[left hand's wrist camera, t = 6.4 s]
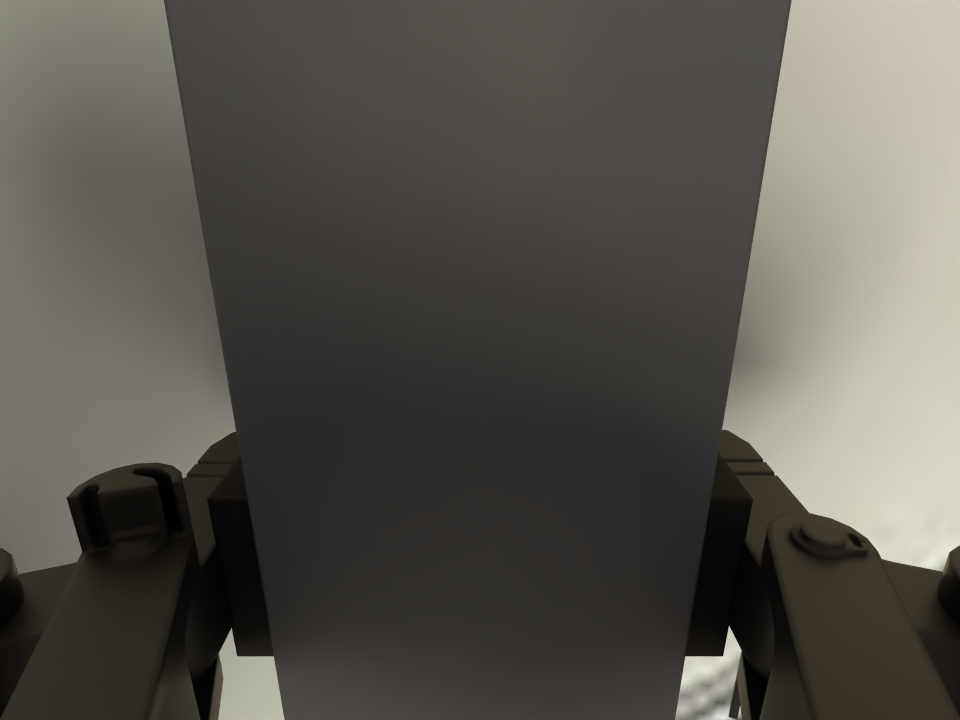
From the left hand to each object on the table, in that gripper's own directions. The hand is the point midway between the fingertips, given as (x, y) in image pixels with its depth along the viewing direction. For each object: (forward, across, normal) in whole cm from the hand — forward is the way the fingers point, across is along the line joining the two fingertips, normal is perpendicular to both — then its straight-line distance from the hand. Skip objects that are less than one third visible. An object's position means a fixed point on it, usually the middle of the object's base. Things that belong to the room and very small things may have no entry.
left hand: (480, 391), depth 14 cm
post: (+1, 0, -34) cm, 34 cm away
